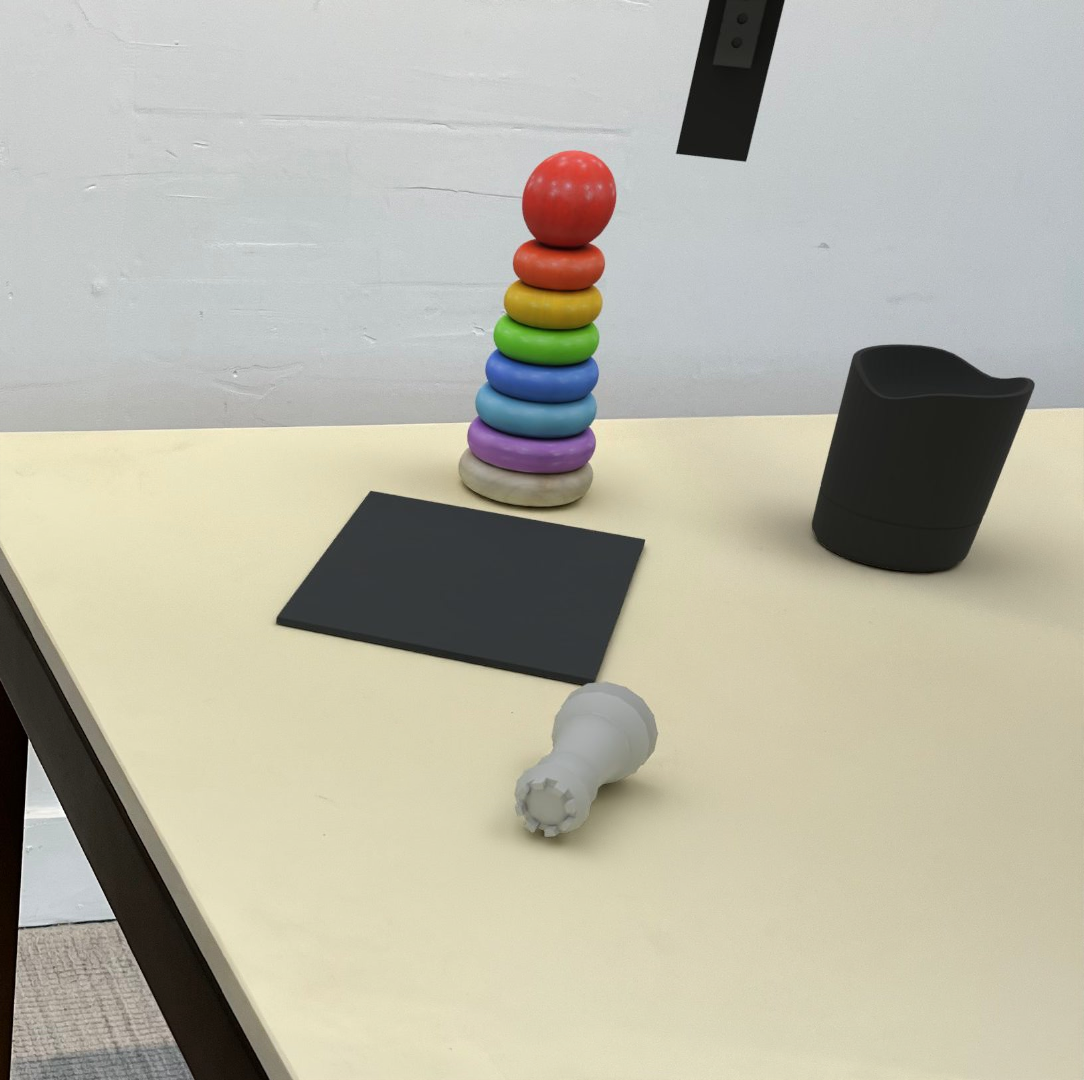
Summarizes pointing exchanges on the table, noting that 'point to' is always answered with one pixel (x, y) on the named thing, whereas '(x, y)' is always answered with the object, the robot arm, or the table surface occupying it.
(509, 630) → the felt mat
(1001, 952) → the table surface
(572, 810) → the rook chess piece
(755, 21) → the robot arm
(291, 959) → the table surface
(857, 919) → the table surface
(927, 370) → the pen holder
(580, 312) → the stacking toy
